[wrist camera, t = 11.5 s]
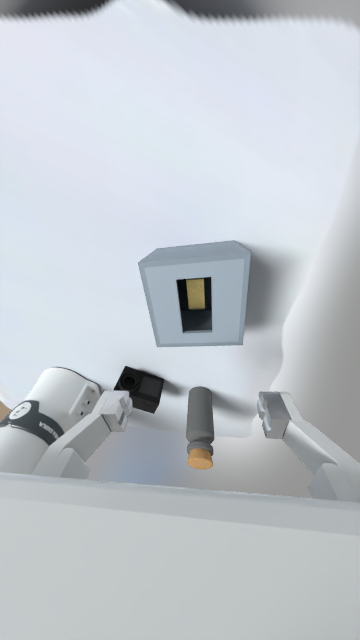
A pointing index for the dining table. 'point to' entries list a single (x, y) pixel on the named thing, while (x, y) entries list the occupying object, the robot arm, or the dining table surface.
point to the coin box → (226, 285)
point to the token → (196, 293)
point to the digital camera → (141, 388)
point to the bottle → (200, 428)
